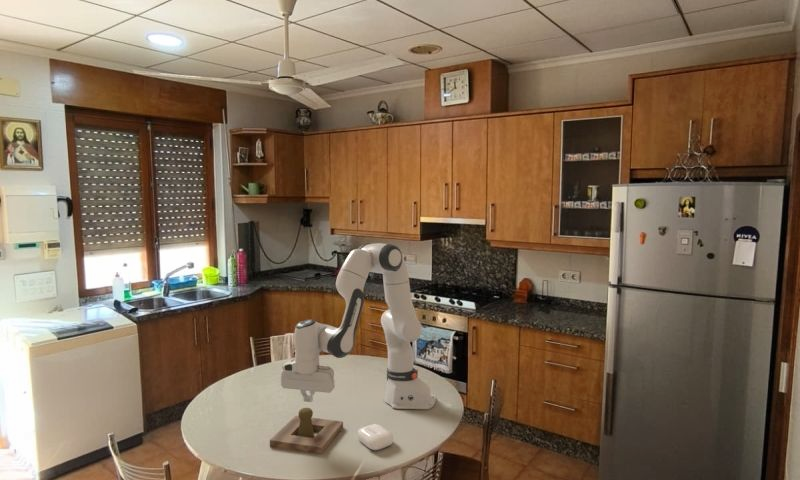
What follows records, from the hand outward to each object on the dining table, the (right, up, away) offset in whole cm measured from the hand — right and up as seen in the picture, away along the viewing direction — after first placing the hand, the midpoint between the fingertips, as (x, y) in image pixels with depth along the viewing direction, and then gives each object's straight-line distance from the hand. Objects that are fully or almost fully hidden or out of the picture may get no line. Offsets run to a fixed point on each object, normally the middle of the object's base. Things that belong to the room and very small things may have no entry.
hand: (308, 401), depth 175 cm
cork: (-1, -14, +1) cm, 14 cm away
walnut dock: (0, -14, +1) cm, 14 cm away
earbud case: (+25, -15, -2) cm, 29 cm away
